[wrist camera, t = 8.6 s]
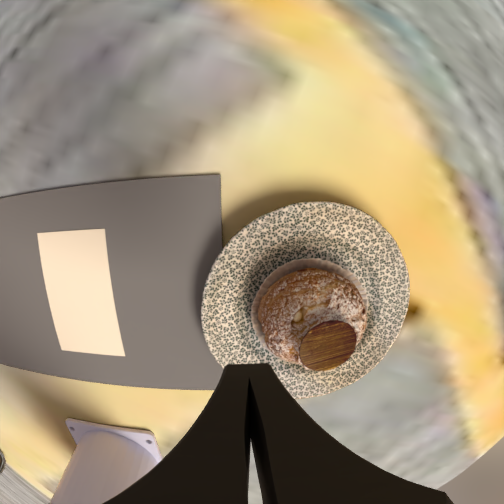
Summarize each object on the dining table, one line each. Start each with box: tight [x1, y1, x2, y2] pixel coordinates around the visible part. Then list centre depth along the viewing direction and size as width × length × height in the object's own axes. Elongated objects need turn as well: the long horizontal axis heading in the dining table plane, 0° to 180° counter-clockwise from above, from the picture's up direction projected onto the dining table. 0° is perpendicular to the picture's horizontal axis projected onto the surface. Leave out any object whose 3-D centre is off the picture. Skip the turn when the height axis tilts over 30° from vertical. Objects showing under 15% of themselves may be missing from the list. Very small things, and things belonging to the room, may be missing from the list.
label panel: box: [0, 175, 224, 390], centre depth 16 cm, size 13×26×1 cm, turn 91°
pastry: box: [201, 201, 410, 399], centre depth 15 cm, size 12×12×5 cm
